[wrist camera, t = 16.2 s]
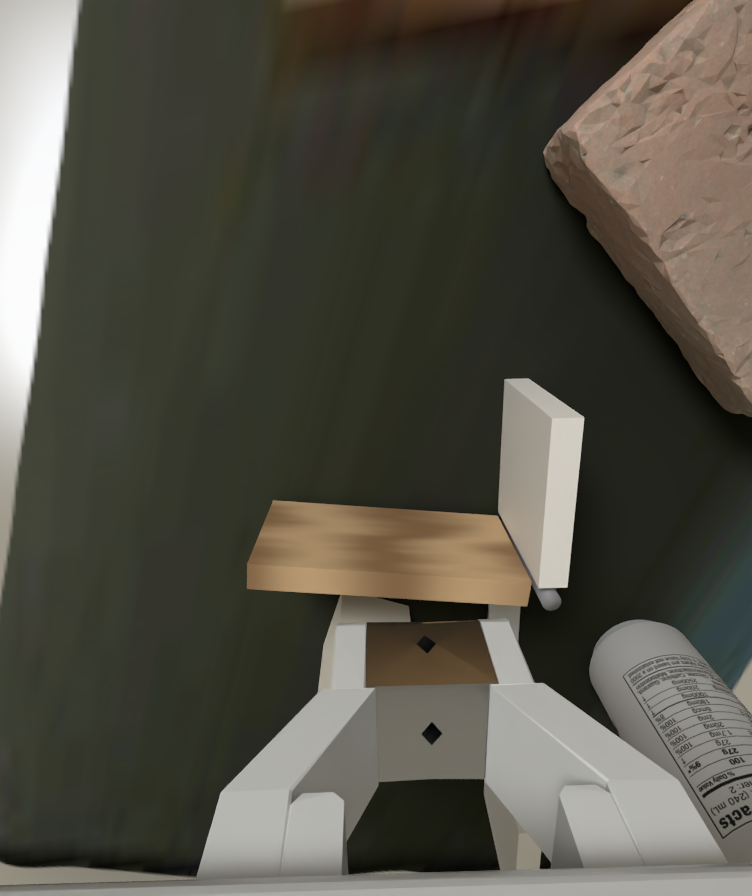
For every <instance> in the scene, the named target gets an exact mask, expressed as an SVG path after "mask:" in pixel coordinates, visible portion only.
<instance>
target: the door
mask: <svg viewBox="0 0 752 896" xmlns="http://www.w3.org/2000/svg"><path fill="white" fill-rule="evenodd" d="M531 584H532V581H531V579H530V578H529V576H528V574H527V572H526V570H525V568H524V566H523V564H522V562H521V560H520V558H519V556H518V554H517V552H516V550H515V549H514V547H513V545H512V543H511V541H510V539H509V537H508V535H507V533H506V531H505V529H504V527H503V525H502V523H501V521H500V519H499V518H498V516H494V515H479V514H465V513H450V512H435V511H421V510H406V509H392V508H377V507H362V506H348V505H333V504H319V503H304V502H290V501H275V500H273V502H272V505H271V507H270V510H269V512H268V515H267V517H266V519H265V522H264V524H263V527H262V529H261V532H260V534H259V537H258V539H257V541H256V544H255V546H254V549H253V551H252V554H251V556H250V558H249V561H248V563H247V589H256V590H272V591H288V592H304V593H320V594H336V595H352V596H368V597H384V598H400V599H416V600H432V601H448V602H464V603H480V604H496V605H512V606H527V605H528V600H529V595H530V590H531Z"/></svg>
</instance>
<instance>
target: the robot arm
mask: <svg viewBox="0 0 752 896" xmlns="http://www.w3.org/2000/svg"><path fill="white" fill-rule="evenodd" d="M421 779H485V782H486V783H487V785H488V786H489V787H490V788H491V790H492V791H493V792H494V793H495V794H496V796H497V797H498V798H499V799H500V801H501V802H502V803H503V804H504V805H505V807H506V808H507V809H508V810H509V812H510V813H511V814H512V815H513V816H514V818H515V819H516V820H517V821H518V823H519V824H520V825H521V826H522V827H523V829H524V830H525V831H526V832H527V833H528V835H529V836H530V837H531V838H532V840H533V841H534V842H535V843H536V844H537V846H538V847H539V848H540V849H541V851H542V852H543V853H544V854H545V855H546V857H547V858H548V859H549V860H550V862H551V869H530V870H496V871H462V872H428V873H394V874H362V875H348V863H347V844H346V842H347V840H348V838H349V836H350V835H351V833H352V831H353V829H354V828H355V826H356V824H357V822H358V821H359V819H360V817H361V815H362V813H363V812H364V810H365V808H366V806H367V805H368V803H369V801H370V799H371V798H372V796H373V794H374V792H375V791H376V789H377V787H378V782H387V781H404V780H421ZM0 896H752V863H733V864H729V863H728V861H727V860H726V858H725V856H724V855H723V853H722V851H721V850H720V848H719V846H718V845H717V843H716V841H715V840H714V838H713V836H712V835H711V833H710V831H709V830H708V828H707V827H706V825H705V823H704V822H703V820H702V818H701V817H700V815H699V813H698V812H697V810H696V808H695V807H694V805H693V803H692V802H691V800H690V798H689V797H688V795H687V793H686V792H685V790H684V788H683V787H682V785H681V783H680V782H679V780H678V779H676V778H675V777H673V776H672V775H671V774H669V773H668V772H666V771H665V770H664V769H662V768H661V767H659V766H658V765H657V764H655V763H654V762H653V761H651V760H650V759H648V758H647V757H646V756H644V755H643V754H641V753H640V752H639V751H637V750H636V749H634V748H633V747H632V746H630V745H629V744H628V743H626V742H625V741H623V740H622V739H621V738H619V737H618V736H616V735H615V734H614V733H612V732H611V731H609V730H608V729H607V728H605V727H604V726H603V725H601V724H600V723H598V722H597V721H596V720H594V719H593V718H591V717H590V716H589V715H587V714H586V713H584V712H583V711H582V710H580V709H579V708H578V707H576V706H575V705H573V704H572V703H571V702H569V701H568V700H566V699H565V698H564V697H562V696H561V695H559V694H558V693H557V692H555V691H554V690H553V689H551V688H550V687H548V686H547V685H546V684H544V683H534V680H533V678H532V675H531V673H530V670H529V668H528V665H527V663H526V660H525V658H524V655H523V653H522V651H521V648H520V646H519V643H518V641H517V638H516V636H515V633H514V631H513V628H512V626H511V623H510V621H509V620H508V619H506V618H496V619H479V620H477V621H449V622H367V627H366V623H365V622H356V623H338V624H337V626H336V631H335V642H334V652H333V663H332V674H331V685H330V689H322V690H320V691H319V692H318V693H317V694H316V695H315V696H314V697H313V699H312V700H311V701H310V702H309V703H308V704H307V705H306V706H305V707H304V708H303V709H302V710H301V711H300V712H299V713H298V714H297V715H296V716H295V717H294V718H293V719H292V720H291V721H290V722H289V723H288V724H287V725H286V726H285V727H284V728H283V729H282V730H281V731H280V732H279V733H278V734H277V735H276V736H275V737H274V738H273V740H272V741H271V742H270V743H269V744H268V745H267V746H266V747H265V748H264V749H263V750H262V751H261V752H260V753H259V754H258V755H257V756H256V757H255V758H254V759H253V760H252V761H251V762H250V763H249V764H248V765H247V766H246V767H245V768H244V769H243V770H242V771H241V772H240V773H239V774H238V775H237V776H236V777H235V778H234V779H233V781H232V782H231V783H230V784H229V785H228V786H227V787H226V788H225V789H224V790H223V791H222V792H221V794H220V797H219V801H218V804H217V808H216V811H215V815H214V818H213V822H212V825H211V828H210V832H209V835H208V839H207V842H206V846H205V849H204V853H203V856H202V860H201V863H200V867H199V870H198V874H197V877H196V880H167V881H132V882H102V883H101V882H99V883H63V884H29V885H0Z"/></svg>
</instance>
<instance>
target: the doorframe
mask: <svg viewBox="0 0 752 896" xmlns="http://www.w3.org/2000/svg"><path fill="white" fill-rule="evenodd" d="M583 426H584V417H583V416H581V415H580V414H579V413H577V412H576V411H574V410H573V409H571V408H570V407H568V406H567V405H566V404H564V403H563V402H561V401H560V400H558V399H557V398H556V397H554V396H553V395H551V394H550V393H548V392H547V391H546V390H544V389H543V388H541V387H540V386H538V385H537V384H536V383H534V382H533V381H531V380H530V379H505V382H504V402H503V421H502V441H501V461H500V481H499V501H498V512H499V514H500V516H501V518H502V521H501V523H502V525H503V527H504V529H505V531H506V533H507V535H508V537H509V539H510V541H511V543H512V545H513V547H514V549H515V550H516V552H517V554H518V556H519V558H520V560H521V562H522V564H523V566H524V568H525V570H526V572H527V574H528V576H529V578H530V579H531V581H532V586H533V588H534V590H535V592H536V594H537V596H538V598H539V600H540V602H541V604H542V606H543V607H544V608H545V609H546V610H549V611H552V610H556V609H557V608H558V607H559V606H560V605H561V598H560V597H559V595H558V593H557V591H556V590H555V588H567V587H568V577H569V567H570V557H571V547H572V537H573V527H574V517H575V506H576V496H577V486H578V476H579V466H580V456H581V446H582V436H583ZM520 607H521V606H512V605H496V604H488V618H487V619H496V618H506V619H508V620H509V621H510V623H511V626H512V628H513V631H514V633H515V636H516V638H517V641H518V636H519V621H520ZM484 797H485V802H486V806H487V811H488V816H489V820H490V825H491V829H492V834H493V839H494V843H495V848H496V852H497V857H498V862H499V866H500V870H530V869H540V859H541V849H540V848H539V847H538V846H537V844H536V843H535V842H534V841H533V840H532V838H531V837H530V836H529V835H528V833H527V832H526V831H525V830H524V829H523V827H522V826H521V825H520V824H519V823H518V821H517V820H516V819H515V818H514V816H513V815H512V814H511V813H510V812H509V810H508V809H507V808H506V807H505V805H504V804H503V803H502V802H501V801H500V799H499V798H498V797H497V796H496V794H495V793H494V792H493V791H492V790H491V788H490V787H489V786H488V785H487V783H486V782H485V779H484Z"/></svg>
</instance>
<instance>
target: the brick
mask: <svg viewBox="0 0 752 896" xmlns="http://www.w3.org/2000/svg"><path fill="white" fill-rule="evenodd" d="M543 153H544V157H545V164H546V167H547V168H548V169H549V170H550V173H551V178H552V179H553V180H554V182H555V183H556V184H557V185H558V186H559V188H560V189H561V191H562V192H563V193H564V195H565V196H566V198H567V200H568V202H569V203H570V205H572V206H573V207H575V208H576V209H577V210H579V211H580V212H581V213H583V214H584V215H585V216H586V219H587V225H586V226H587V228H588V230H589V232H590V234H591V235H592V236H593V237H594V238H595V239H596V240H597V241H598V242H599V243H600V244H601V245H602V246H603V248H604V249H605V251H606V252H607V253H608V254H609V256H610V257H611V259H612V260H613V262H614V263H615V264H616V265H617V267H618V268H619V269H620V271H621V273H622V275H623V276H624V278H625V279H626V280H627V281H628V282H629V283H630V284H631V285H632V286H634V288H635V290H636V292H637V294H638V295H639V297H640V298H641V299H642V300H643V301H644V302H645V304H646V305H647V306H648V307H649V308H650V309H651V310H652V311H653V312H654V314H655V316H656V318H657V319H658V321H659V322H660V323H661V325H662V327H663V328H664V329H665V331H666V332H667V333H668V334H669V335H670V336H671V337H672V338H673V340H674V341H675V342H676V343H677V344H678V346H679V348H680V350H681V352H682V354H683V356H684V357H685V359H686V360H687V361H688V363H689V365H690V366H691V368H692V370H693V372H694V373H695V375H696V376H697V378H698V379H699V380H700V382H701V383H702V384H703V385H704V386H705V387H706V388H707V389H708V390H709V391H710V393H711V395H712V396H713V397H714V398H715V399H716V401H717V402H718V403H719V404H720V405H721V407H723V408H724V409H725V410H727V411H729V412H731V413H735V414H745V415H746V416H748V417H752V0H693V1H692V2H691V3H690V4H688V5H687V6H686V7H685V8H684V9H683V10H682V11H681V12H680V13H679V14H678V15H677V16H676V17H674V18H673V19H672V20H671V21H670V22H669V23H667V24H666V25H665V26H664V27H663V28H662V29H661V30H660V31H659V32H658V33H657V34H656V35H655V36H654V37H653V38H652V39H650V40H649V41H648V42H647V43H646V45H645V46H644V47H643V49H642V50H641V51H639V52H638V53H637V54H636V55H635V56H634V57H633V58H632V59H631V60H630V61H629V62H628V63H627V64H626V65H624V66H623V67H622V68H621V69H620V70H619V71H618V72H617V74H616V75H615V76H613V77H612V78H611V79H609V80H608V81H607V82H606V83H604V84H603V85H602V86H601V87H600V88H599V89H598V90H597V91H596V92H595V93H594V94H593V95H592V96H591V97H590V98H589V99H588V100H587V101H586V102H585V103H584V104H583V105H582V106H581V107H579V109H578V110H577V111H576V112H575V113H574V114H573V116H572V117H571V118H570V119H569V120H568V121H567V122H566V123H565V124H563V125H562V126H561V127H560V128H559V129H558V130H557V131H556V133H555V134H554V136H553V137H552V139H551V140H550V142H549V143H548V144H547V146H546V148H545V150H544V151H543Z"/></svg>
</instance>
